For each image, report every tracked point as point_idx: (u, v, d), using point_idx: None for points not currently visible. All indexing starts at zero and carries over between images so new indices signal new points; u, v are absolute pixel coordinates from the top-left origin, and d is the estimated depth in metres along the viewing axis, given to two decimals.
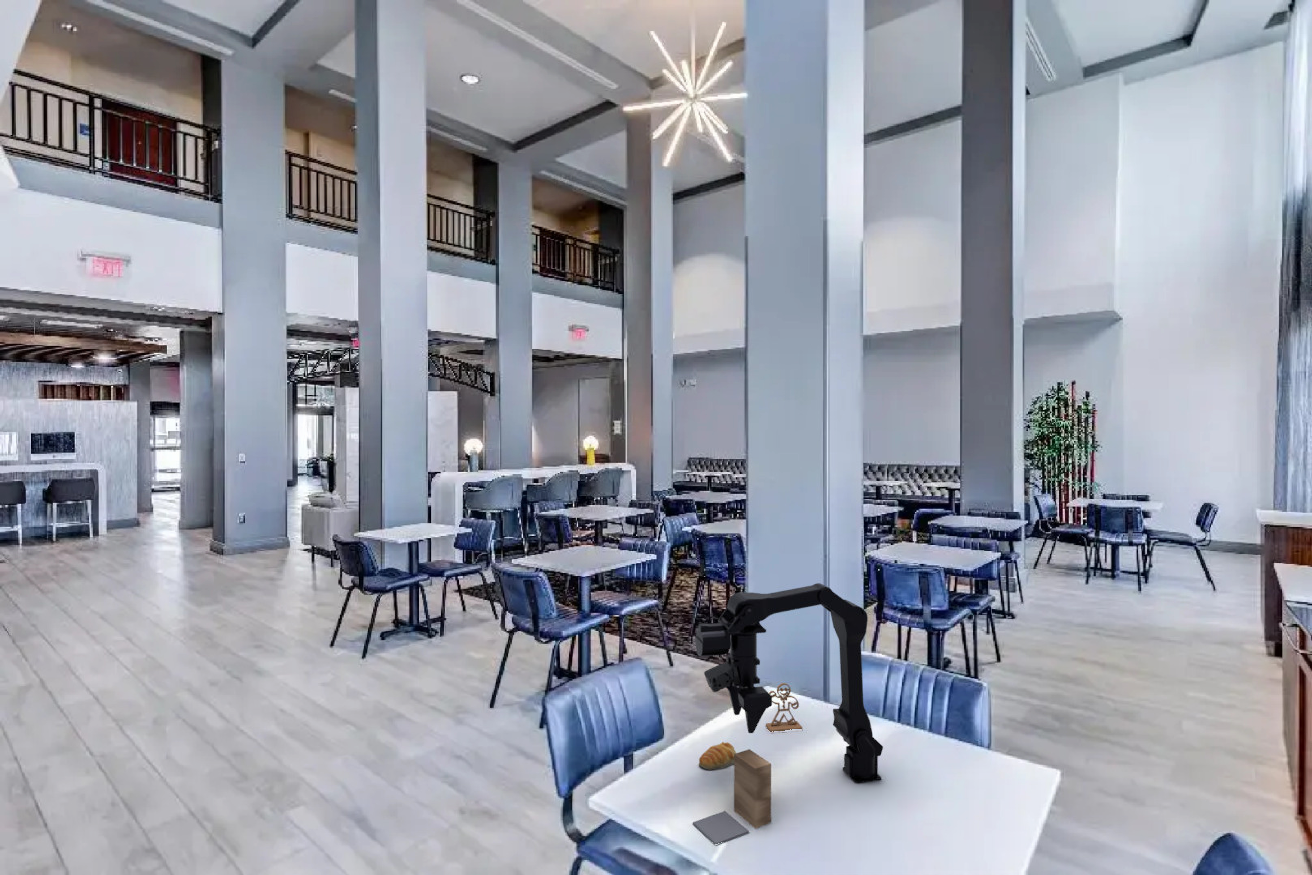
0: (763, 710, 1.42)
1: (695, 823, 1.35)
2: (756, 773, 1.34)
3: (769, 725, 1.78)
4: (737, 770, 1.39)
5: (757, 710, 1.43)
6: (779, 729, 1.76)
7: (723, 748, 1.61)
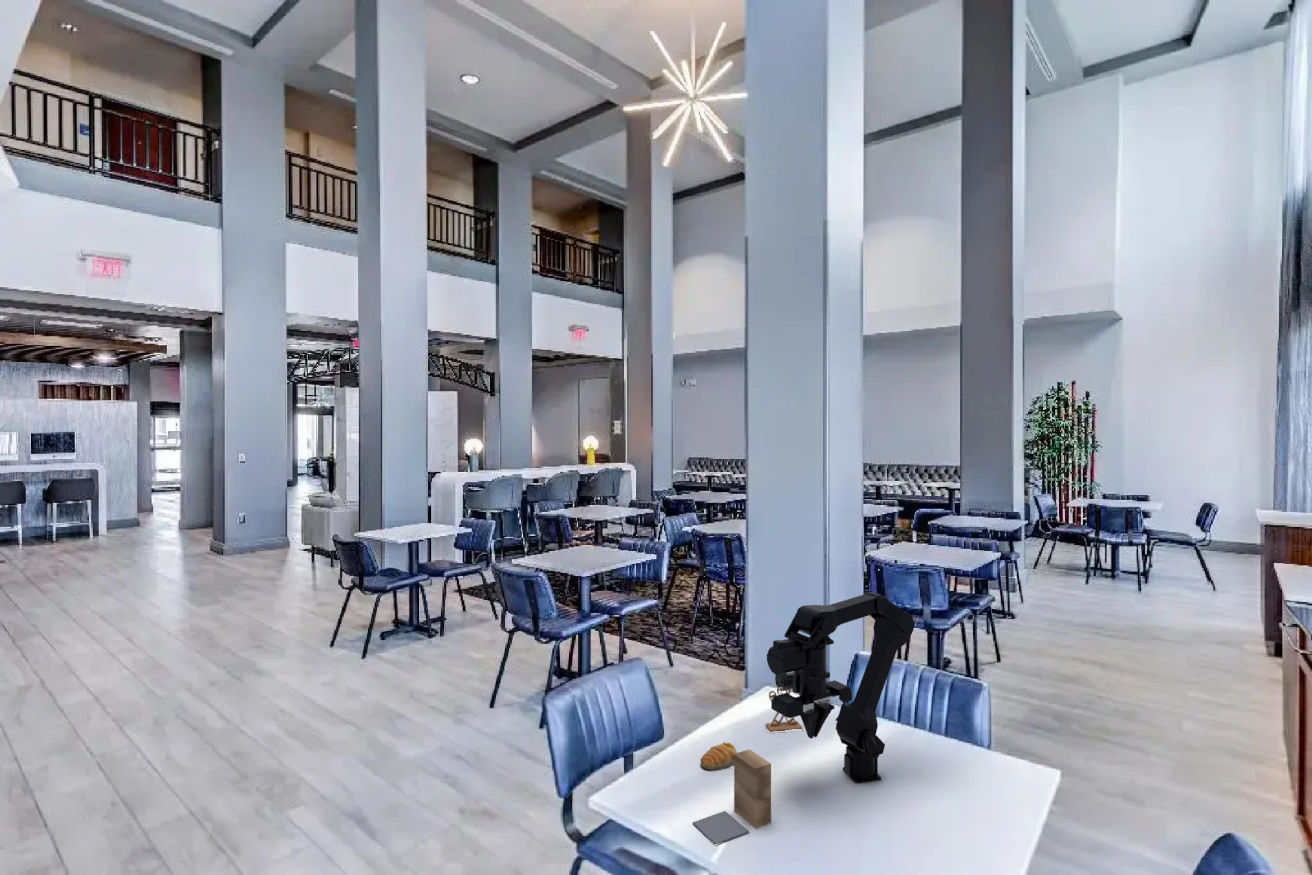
0: (810, 718, 1.44)
1: (695, 823, 1.35)
2: (756, 773, 1.34)
3: (769, 725, 1.78)
4: (737, 770, 1.39)
5: (808, 716, 1.45)
6: (779, 729, 1.76)
7: (724, 748, 1.60)
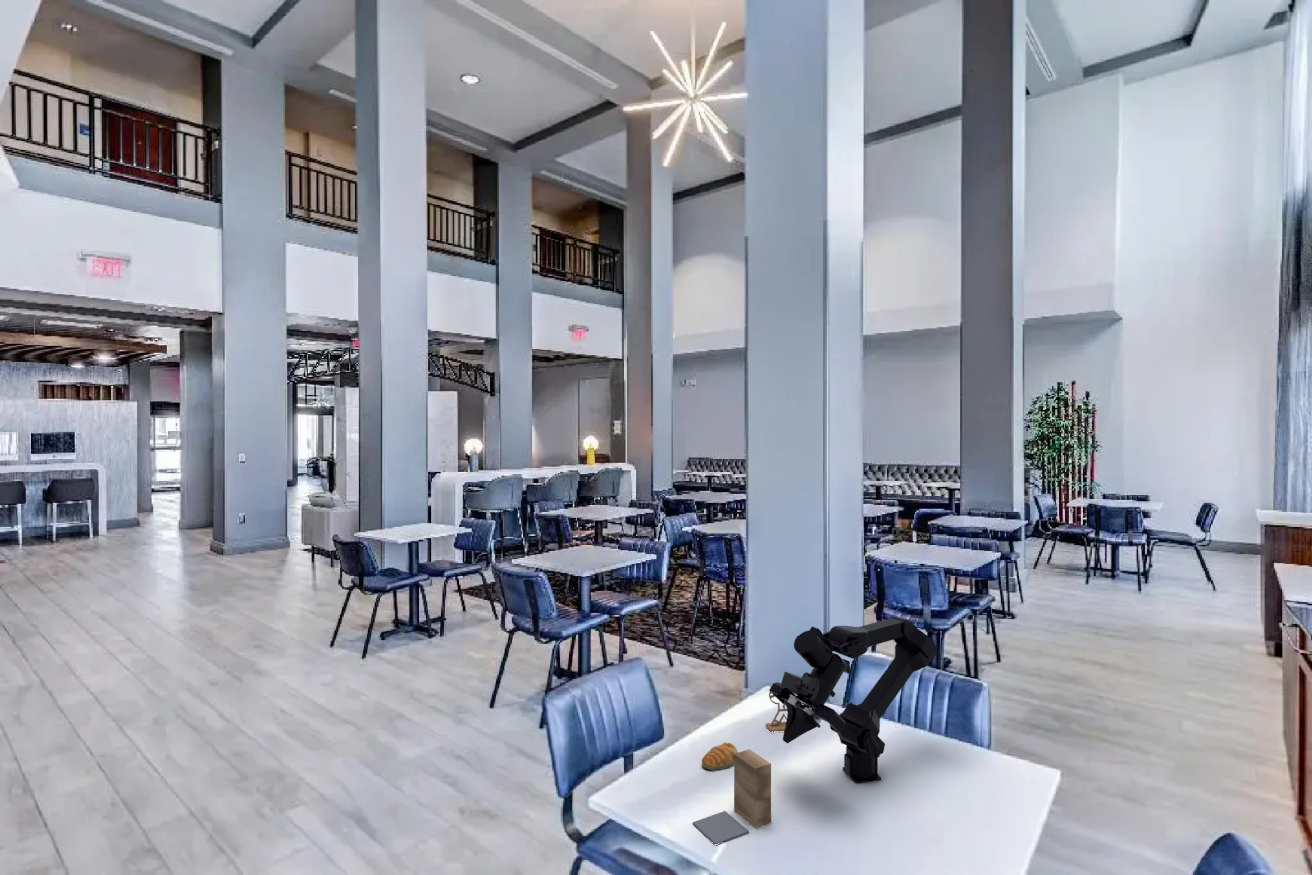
0: (810, 728, 1.43)
1: (695, 823, 1.35)
2: (756, 773, 1.34)
3: (769, 725, 1.78)
4: (737, 770, 1.39)
5: (805, 725, 1.43)
6: (779, 729, 1.76)
7: (725, 748, 1.60)
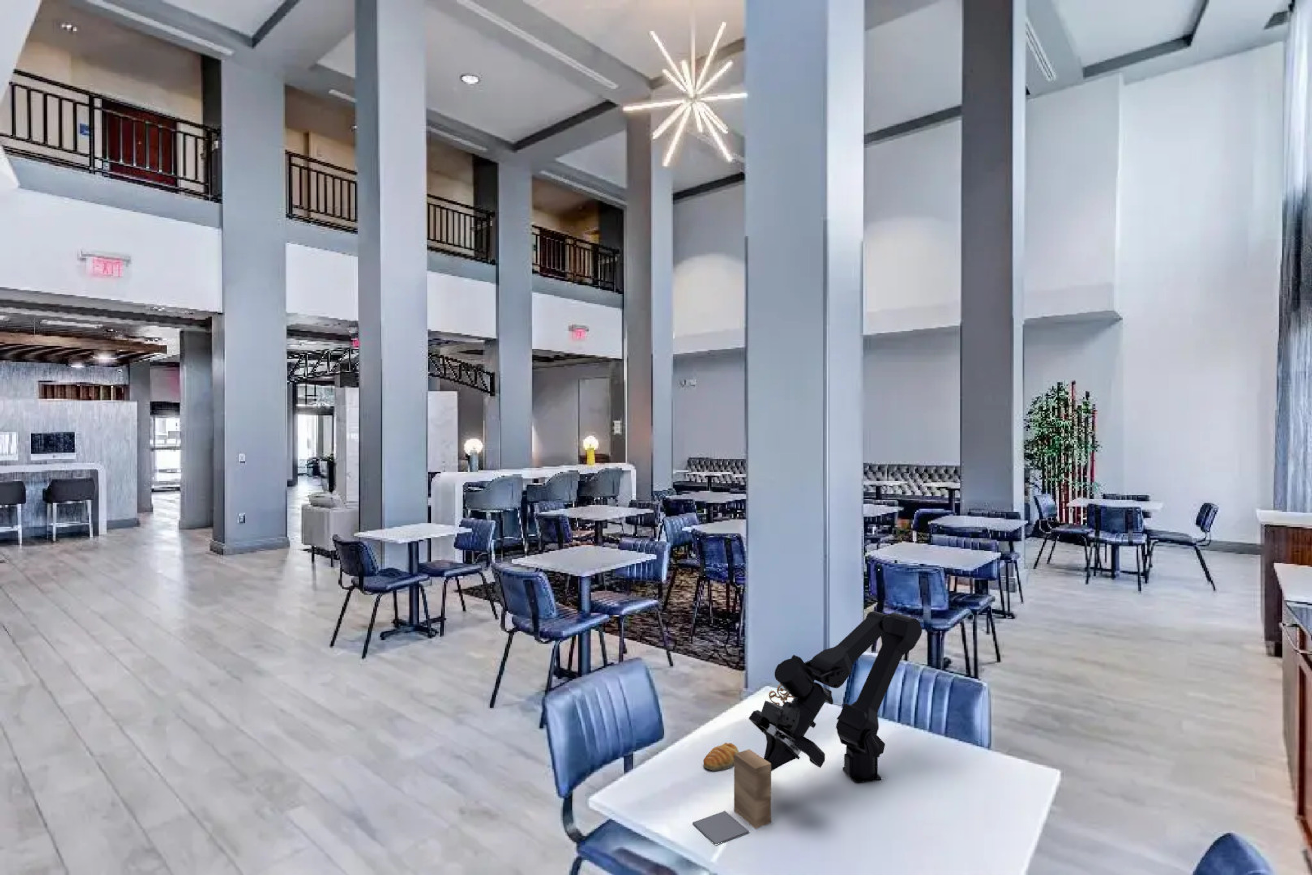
0: (789, 759, 1.40)
1: (695, 823, 1.35)
2: (756, 773, 1.34)
3: None
4: (737, 770, 1.39)
5: (784, 756, 1.40)
6: None
7: (727, 749, 1.60)
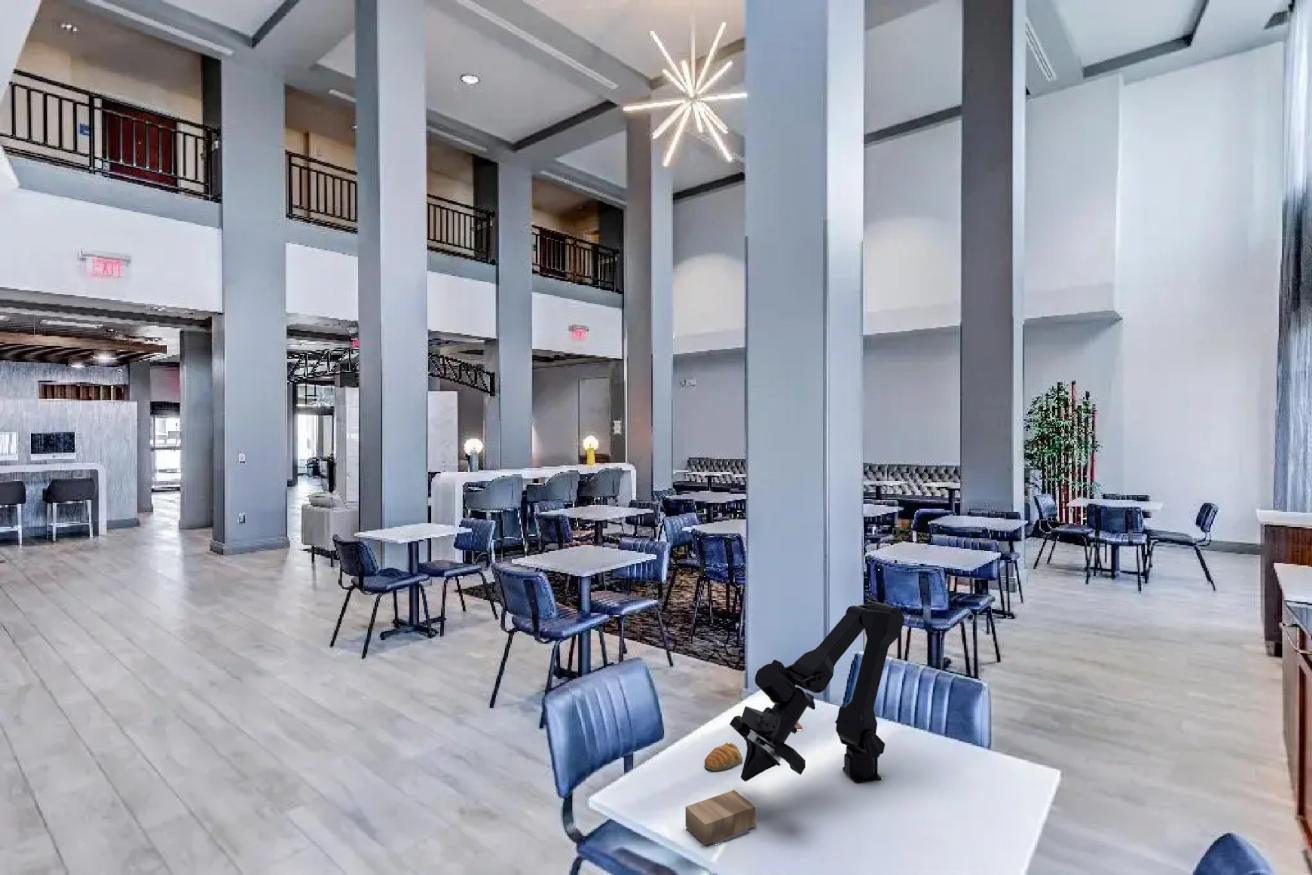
0: (770, 766, 1.38)
1: None
2: (710, 841, 1.29)
3: None
4: None
5: (764, 762, 1.38)
6: None
7: (728, 749, 1.60)
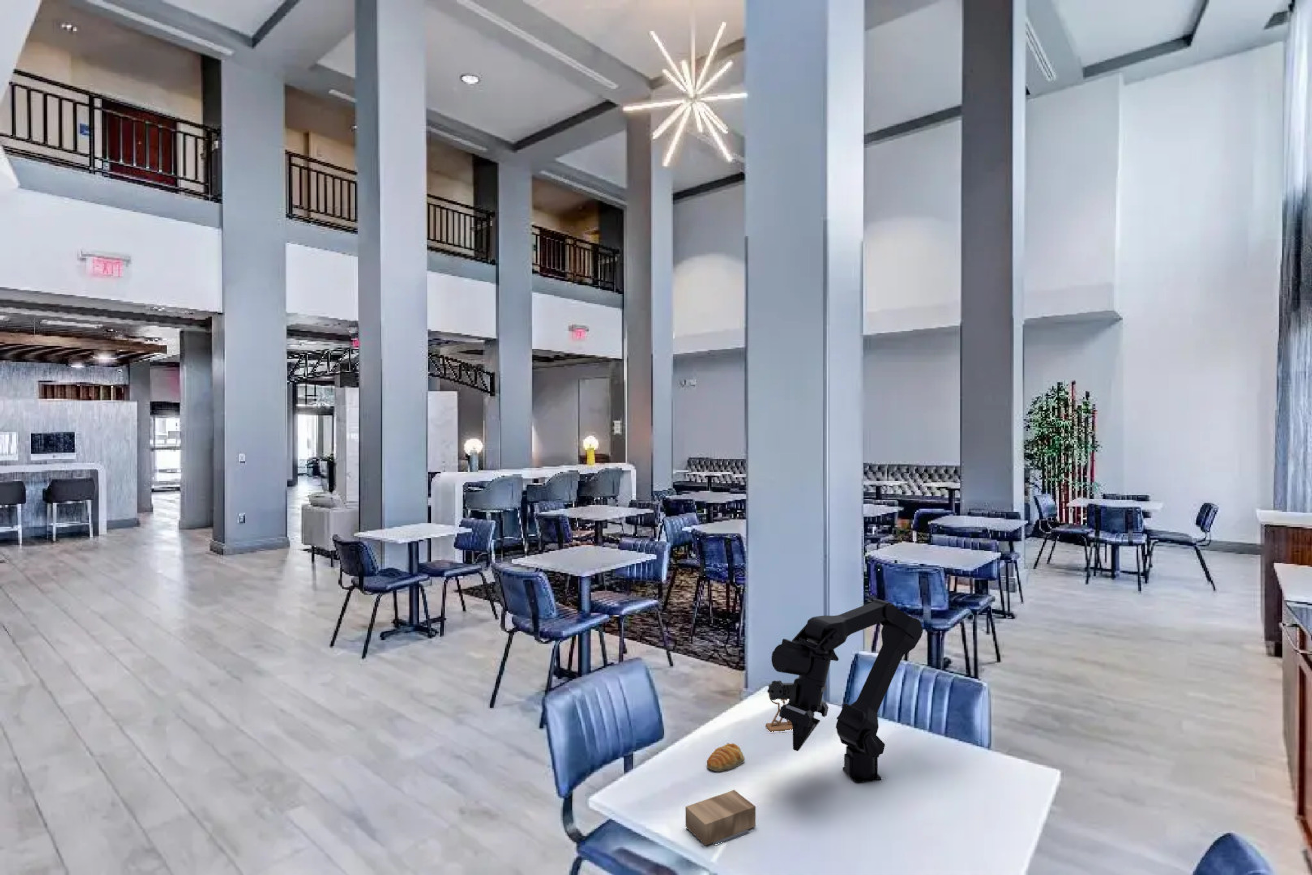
0: (808, 730, 1.43)
1: None
2: (710, 841, 1.29)
3: (769, 725, 1.78)
4: None
5: (804, 728, 1.44)
6: (779, 729, 1.76)
7: (730, 749, 1.60)
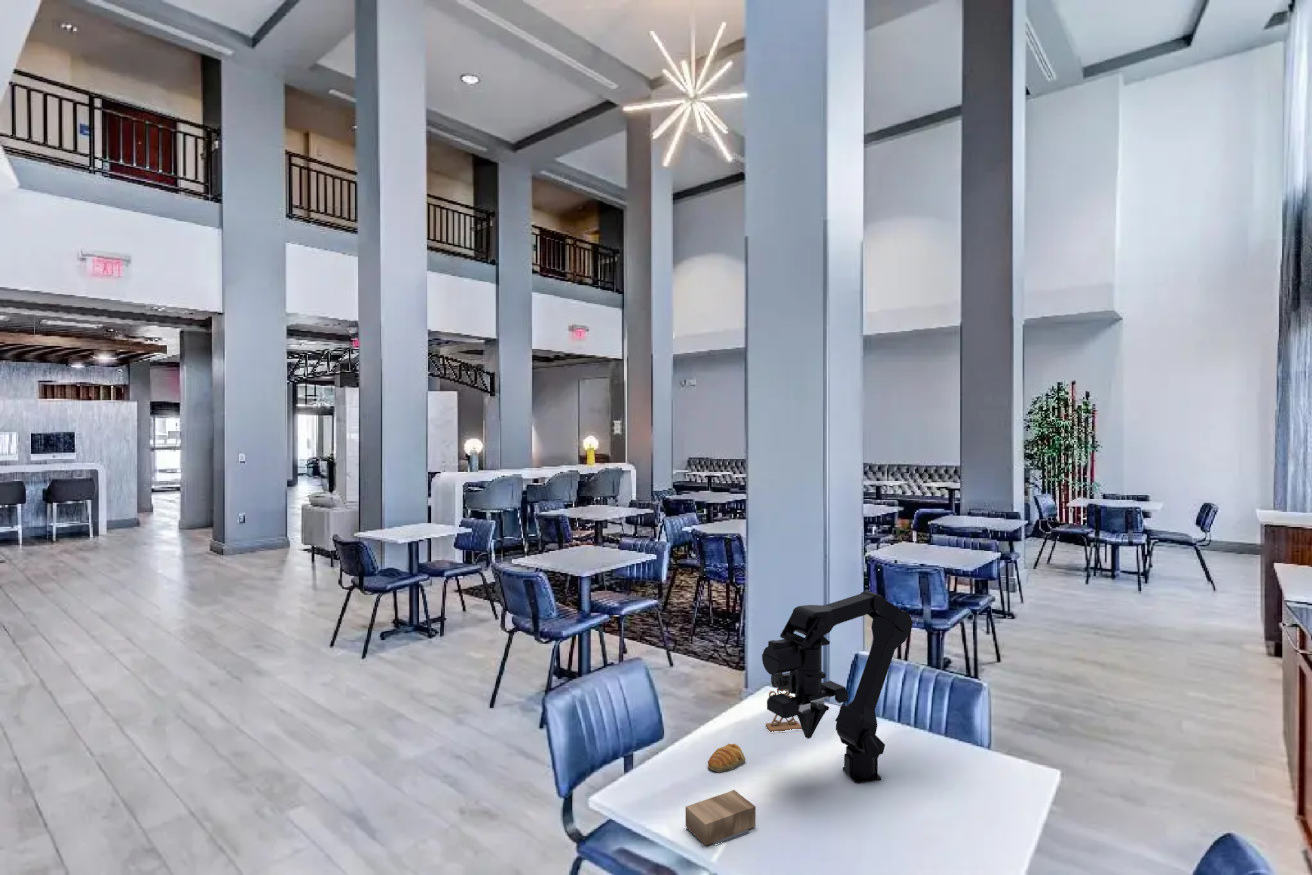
0: (807, 718, 1.44)
1: None
2: (710, 841, 1.29)
3: (769, 725, 1.78)
4: None
5: (805, 716, 1.45)
6: (779, 729, 1.76)
7: (731, 749, 1.60)
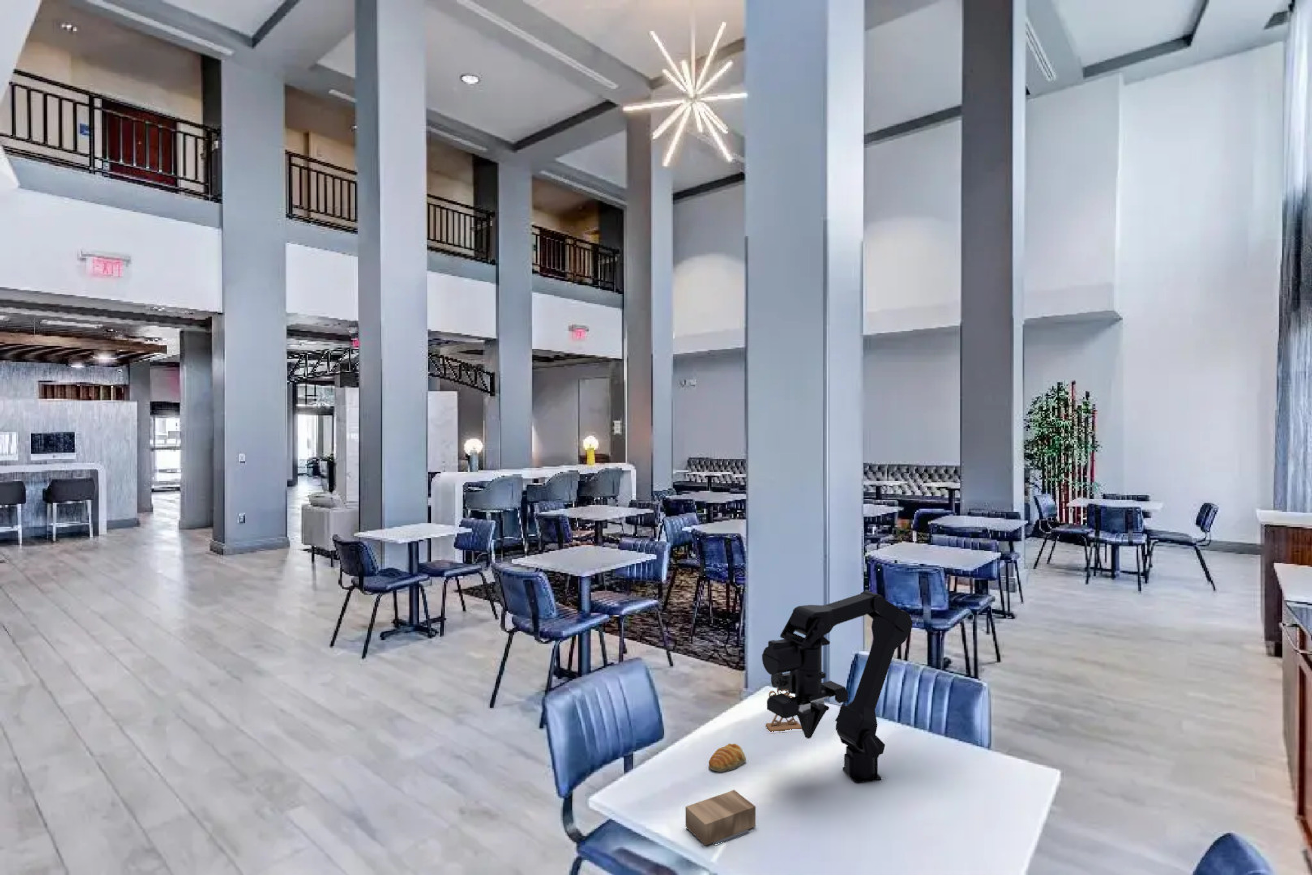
0: (807, 718, 1.44)
1: None
2: (710, 841, 1.29)
3: (769, 725, 1.78)
4: None
5: (805, 716, 1.45)
6: (779, 729, 1.76)
7: (732, 749, 1.60)
